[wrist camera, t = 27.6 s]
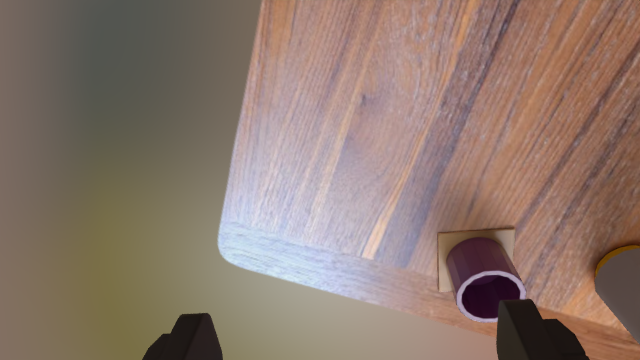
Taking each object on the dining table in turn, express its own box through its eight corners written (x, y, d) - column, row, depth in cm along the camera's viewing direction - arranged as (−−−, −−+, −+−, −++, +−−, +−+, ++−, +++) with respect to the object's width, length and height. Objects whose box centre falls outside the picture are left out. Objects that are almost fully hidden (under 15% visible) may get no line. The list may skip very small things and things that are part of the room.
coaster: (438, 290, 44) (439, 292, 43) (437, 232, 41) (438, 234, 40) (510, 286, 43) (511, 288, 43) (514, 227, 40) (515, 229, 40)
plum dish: (445, 287, 43) (456, 323, 39) (445, 239, 41) (456, 272, 36) (505, 283, 42) (523, 321, 38) (509, 234, 40) (528, 268, 35)
